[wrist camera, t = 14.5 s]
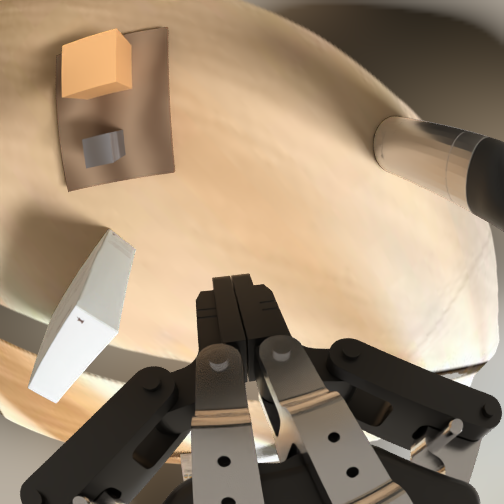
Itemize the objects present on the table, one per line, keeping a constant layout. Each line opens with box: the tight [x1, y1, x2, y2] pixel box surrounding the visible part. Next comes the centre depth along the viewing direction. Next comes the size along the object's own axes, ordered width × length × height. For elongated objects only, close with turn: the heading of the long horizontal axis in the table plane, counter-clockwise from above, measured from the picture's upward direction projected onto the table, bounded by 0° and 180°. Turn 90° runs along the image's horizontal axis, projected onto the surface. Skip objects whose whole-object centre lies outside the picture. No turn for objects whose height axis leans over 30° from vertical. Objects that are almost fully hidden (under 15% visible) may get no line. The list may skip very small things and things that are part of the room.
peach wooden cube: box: [61, 28, 132, 100], centre depth 19 cm, size 6×6×7 cm
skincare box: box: [28, 229, 136, 403], centre depth 29 cm, size 21×5×16 cm, turn 131°
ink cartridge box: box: [180, 453, 192, 481], centre depth 66 cm, size 10×6×14 cm, turn 92°
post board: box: [56, 27, 175, 192], centre depth 22 cm, size 14×18×7 cm
